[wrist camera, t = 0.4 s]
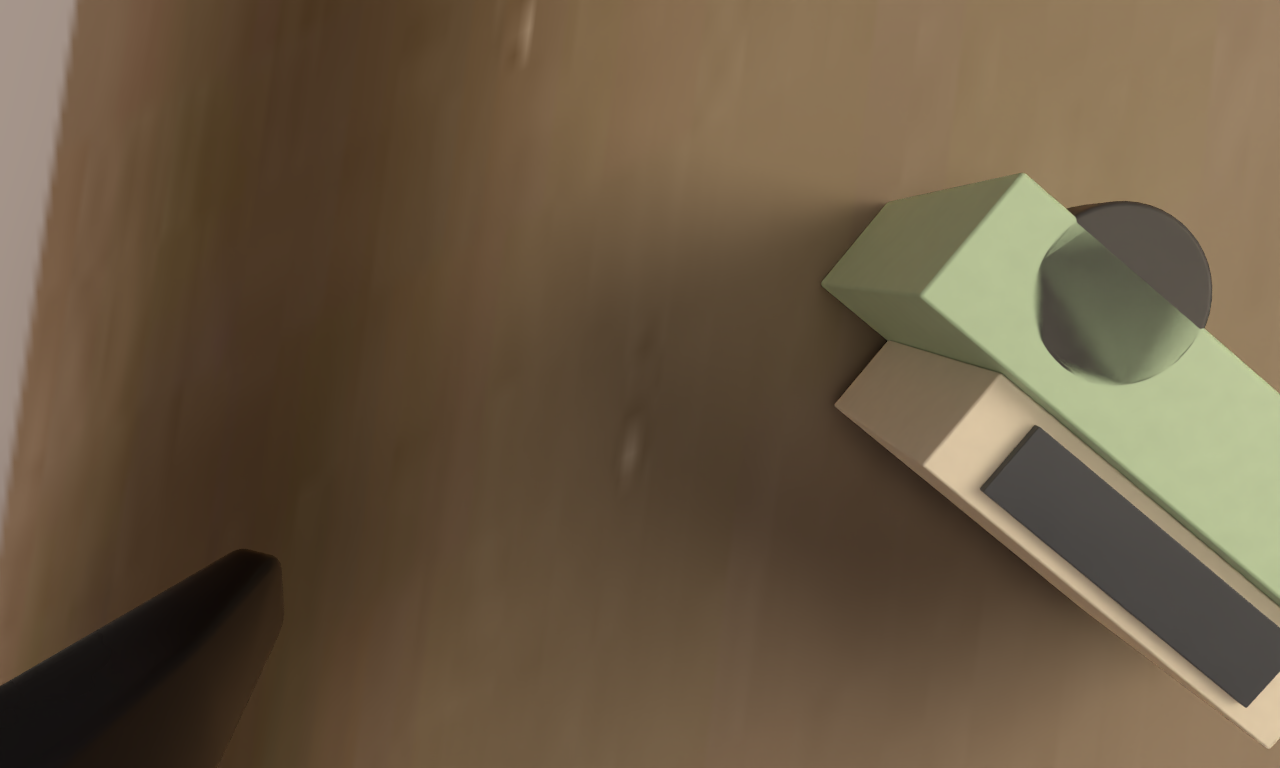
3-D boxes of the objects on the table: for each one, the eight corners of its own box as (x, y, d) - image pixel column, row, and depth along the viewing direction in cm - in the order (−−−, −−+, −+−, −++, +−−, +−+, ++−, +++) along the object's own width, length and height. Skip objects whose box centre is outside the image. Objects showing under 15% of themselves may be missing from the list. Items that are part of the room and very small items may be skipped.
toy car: (764, 349, 24) (836, 394, 16) (915, 166, 23) (1067, 118, 15) (1192, 700, 25) (1456, 903, 17) (1343, 533, 25) (1686, 662, 17)
